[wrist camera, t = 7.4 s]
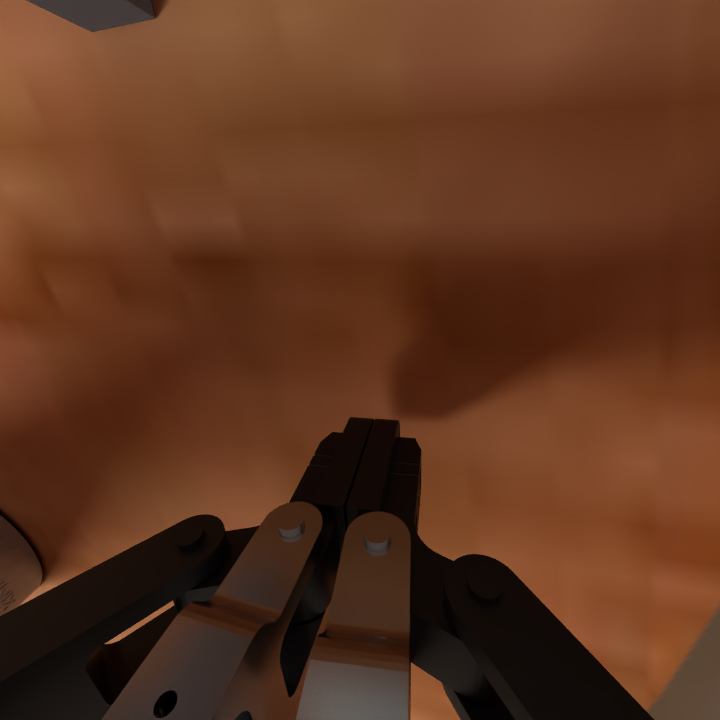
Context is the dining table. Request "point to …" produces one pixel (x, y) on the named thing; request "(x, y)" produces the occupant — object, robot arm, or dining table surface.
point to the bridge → (99, 12)
